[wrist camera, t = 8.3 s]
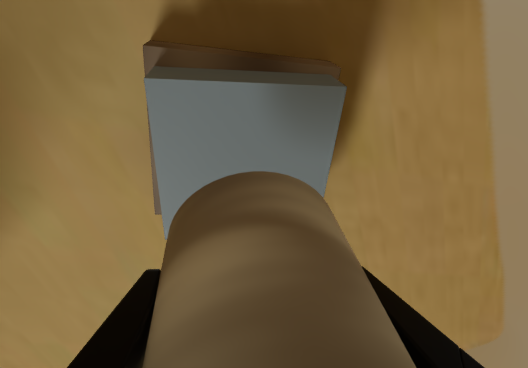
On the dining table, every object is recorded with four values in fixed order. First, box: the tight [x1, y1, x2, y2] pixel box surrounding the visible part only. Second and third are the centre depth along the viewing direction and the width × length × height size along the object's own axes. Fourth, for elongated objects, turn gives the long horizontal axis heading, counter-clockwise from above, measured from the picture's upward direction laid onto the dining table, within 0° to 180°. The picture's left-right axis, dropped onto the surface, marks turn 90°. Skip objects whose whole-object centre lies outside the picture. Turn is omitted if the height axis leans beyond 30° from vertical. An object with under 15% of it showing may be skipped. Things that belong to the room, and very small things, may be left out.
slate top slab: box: [144, 66, 347, 239], centre depth 17 cm, size 9×9×2 cm
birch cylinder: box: [142, 171, 416, 368], centre depth 8 cm, size 6×6×6 cm
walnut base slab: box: [143, 40, 341, 215], centre depth 19 cm, size 10×10×2 cm
